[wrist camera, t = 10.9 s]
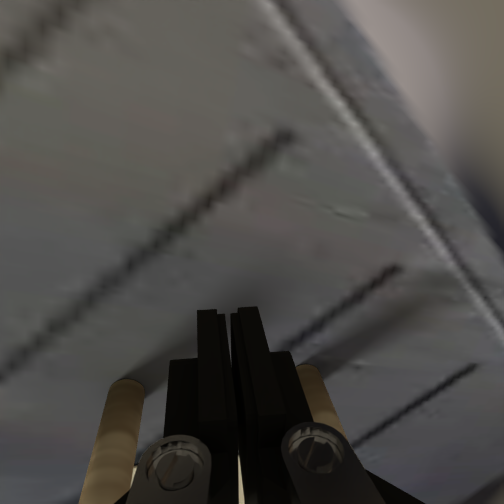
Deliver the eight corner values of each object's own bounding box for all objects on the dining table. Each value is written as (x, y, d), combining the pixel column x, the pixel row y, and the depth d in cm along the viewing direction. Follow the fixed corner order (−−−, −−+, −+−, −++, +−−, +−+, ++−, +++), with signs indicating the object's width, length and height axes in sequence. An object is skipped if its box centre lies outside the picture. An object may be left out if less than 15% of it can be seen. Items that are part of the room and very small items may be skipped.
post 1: (106, 380, 28) (69, 510, 20) (143, 377, 28) (121, 504, 20) (111, 408, 29) (77, 542, 20) (146, 404, 29) (127, 536, 21)
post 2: (288, 365, 29) (324, 480, 21) (321, 363, 29) (370, 475, 21) (286, 392, 30) (321, 511, 22) (318, 389, 30) (364, 506, 22)
